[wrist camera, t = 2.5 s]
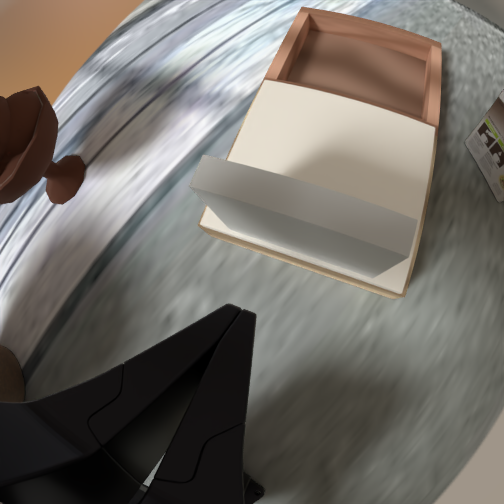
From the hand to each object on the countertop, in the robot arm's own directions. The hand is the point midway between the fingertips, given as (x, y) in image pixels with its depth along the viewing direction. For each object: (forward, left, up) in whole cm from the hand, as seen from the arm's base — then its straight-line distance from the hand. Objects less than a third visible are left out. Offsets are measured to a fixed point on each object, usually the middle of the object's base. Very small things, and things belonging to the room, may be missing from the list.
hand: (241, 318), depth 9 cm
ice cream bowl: (-4, +25, -14) cm, 29 cm away
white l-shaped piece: (+9, +3, -10) cm, 14 cm away
